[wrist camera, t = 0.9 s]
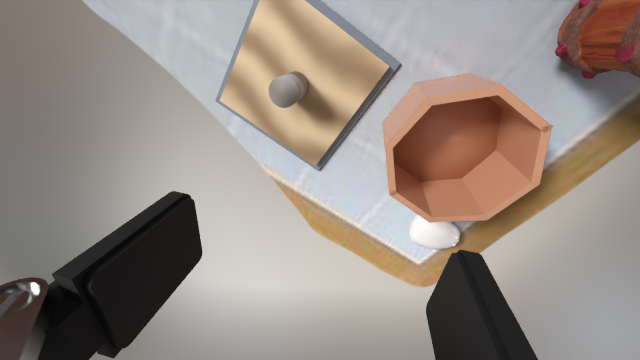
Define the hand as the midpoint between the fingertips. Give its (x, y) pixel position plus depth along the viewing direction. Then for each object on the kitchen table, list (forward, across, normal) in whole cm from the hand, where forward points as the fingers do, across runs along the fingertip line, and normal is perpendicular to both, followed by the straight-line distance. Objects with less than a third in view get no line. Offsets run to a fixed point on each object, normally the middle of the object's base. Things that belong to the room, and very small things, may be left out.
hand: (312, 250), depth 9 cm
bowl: (+31, -13, +3) cm, 33 cm away
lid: (+30, +9, -1) cm, 32 cm away
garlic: (+32, -17, +19) cm, 41 cm away
